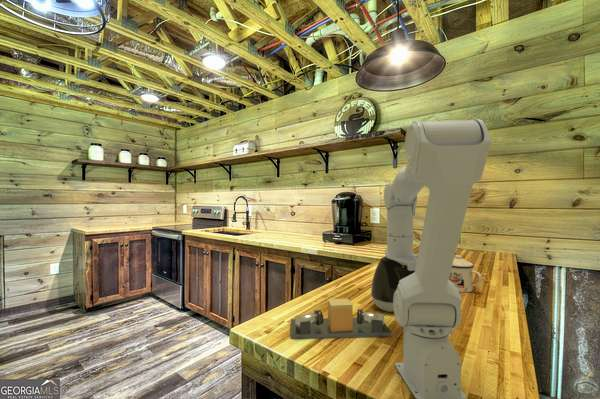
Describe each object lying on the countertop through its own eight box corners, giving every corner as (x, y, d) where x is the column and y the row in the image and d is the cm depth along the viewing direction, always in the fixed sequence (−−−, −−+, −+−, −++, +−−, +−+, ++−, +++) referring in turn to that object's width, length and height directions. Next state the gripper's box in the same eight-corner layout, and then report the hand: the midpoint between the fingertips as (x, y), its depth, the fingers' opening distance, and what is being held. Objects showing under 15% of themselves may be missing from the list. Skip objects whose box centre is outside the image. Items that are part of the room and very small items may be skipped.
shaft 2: (384, 327, 66) (384, 310, 66) (383, 333, 63) (383, 315, 63) (358, 323, 68) (358, 307, 68) (357, 329, 65) (357, 312, 65)
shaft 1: (299, 335, 62) (299, 317, 62) (294, 329, 65) (294, 311, 65) (323, 330, 64) (323, 312, 64) (317, 324, 67) (317, 308, 67)
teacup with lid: (438, 287, 98) (438, 254, 98) (451, 283, 103) (451, 251, 103) (475, 297, 88) (475, 261, 88) (488, 292, 93) (487, 257, 93)
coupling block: (352, 330, 64) (352, 304, 64) (331, 331, 64) (331, 305, 64) (347, 322, 68) (347, 298, 68) (328, 323, 68) (327, 299, 68)
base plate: (391, 336, 63) (391, 332, 63) (291, 338, 63) (290, 334, 63) (380, 321, 71) (380, 317, 71) (290, 323, 71) (290, 319, 71)
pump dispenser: (412, 317, 74) (412, 260, 74) (372, 314, 76) (372, 258, 76) (405, 303, 84) (405, 253, 84) (370, 300, 86) (370, 251, 86)
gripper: (432, 240, 57) (433, 305, 57) (404, 231, 72) (404, 284, 72) (399, 240, 57) (399, 306, 57) (377, 232, 72) (377, 284, 72)
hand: (400, 293), depth 65 cm, fingers open, 7 cm apart
